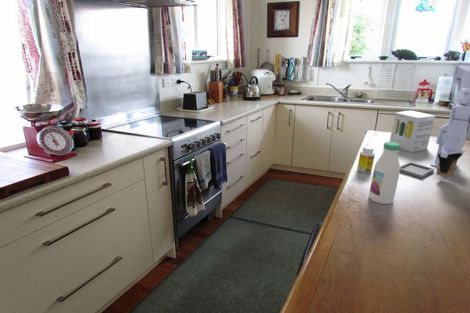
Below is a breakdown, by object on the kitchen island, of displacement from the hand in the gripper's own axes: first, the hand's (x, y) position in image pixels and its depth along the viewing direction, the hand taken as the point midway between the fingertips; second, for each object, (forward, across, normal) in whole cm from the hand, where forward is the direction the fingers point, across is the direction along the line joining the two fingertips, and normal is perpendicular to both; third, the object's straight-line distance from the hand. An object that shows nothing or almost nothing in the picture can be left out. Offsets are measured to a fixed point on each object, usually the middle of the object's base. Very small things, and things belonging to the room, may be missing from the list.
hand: (445, 171), depth 122 cm
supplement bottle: (+4, -16, +24) cm, 29 cm away
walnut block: (+2, 0, 0) cm, 2 cm away
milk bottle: (+4, -35, +7) cm, 36 cm away
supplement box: (+5, +33, +28) cm, 43 cm away
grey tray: (+4, +1, +11) cm, 12 cm away
